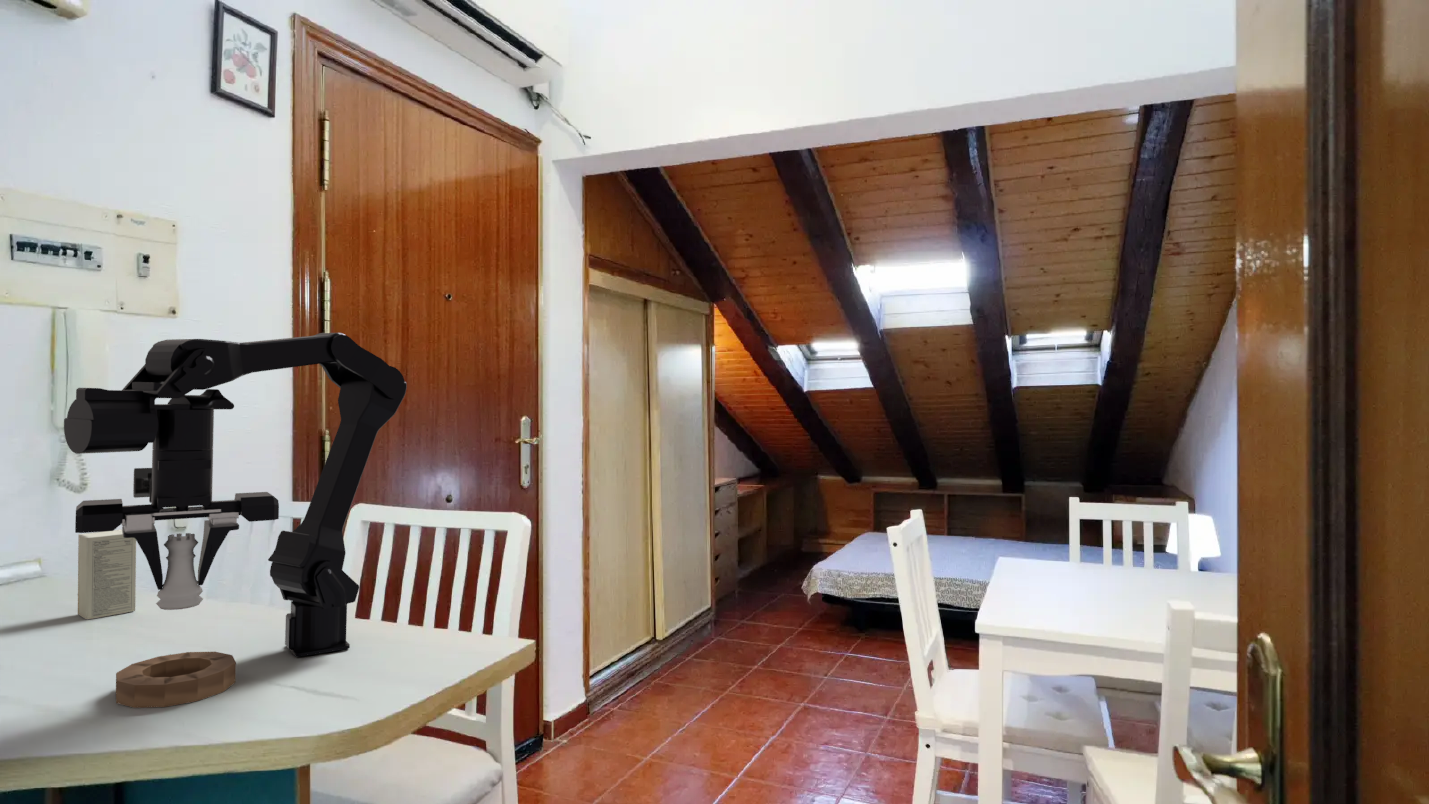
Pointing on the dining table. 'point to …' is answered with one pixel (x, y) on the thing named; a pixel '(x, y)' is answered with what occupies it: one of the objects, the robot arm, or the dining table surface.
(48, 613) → the dining table surface
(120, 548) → the skincare box
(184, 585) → the rook chess piece
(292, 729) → the dining table surface
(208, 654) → the walnut bead ring
